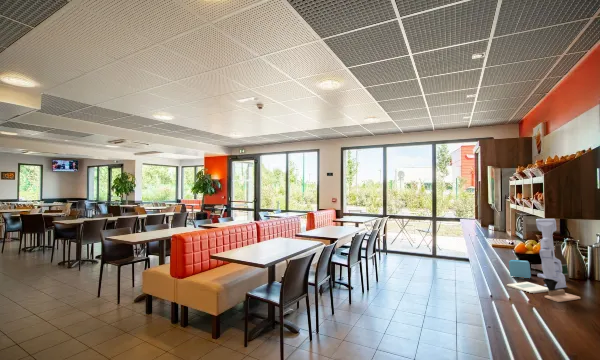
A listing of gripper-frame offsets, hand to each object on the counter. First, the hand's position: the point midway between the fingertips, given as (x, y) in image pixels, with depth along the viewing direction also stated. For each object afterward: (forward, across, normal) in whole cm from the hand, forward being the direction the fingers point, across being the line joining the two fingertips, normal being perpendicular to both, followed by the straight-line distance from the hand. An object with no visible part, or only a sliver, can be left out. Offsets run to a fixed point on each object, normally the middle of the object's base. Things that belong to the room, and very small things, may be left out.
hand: (551, 291), depth 179 cm
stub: (+2, +6, 0) cm, 6 cm away
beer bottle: (+2, -22, +34) cm, 41 cm away
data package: (+2, -37, +16) cm, 41 cm away
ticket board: (+2, -15, 0) cm, 16 cm away
